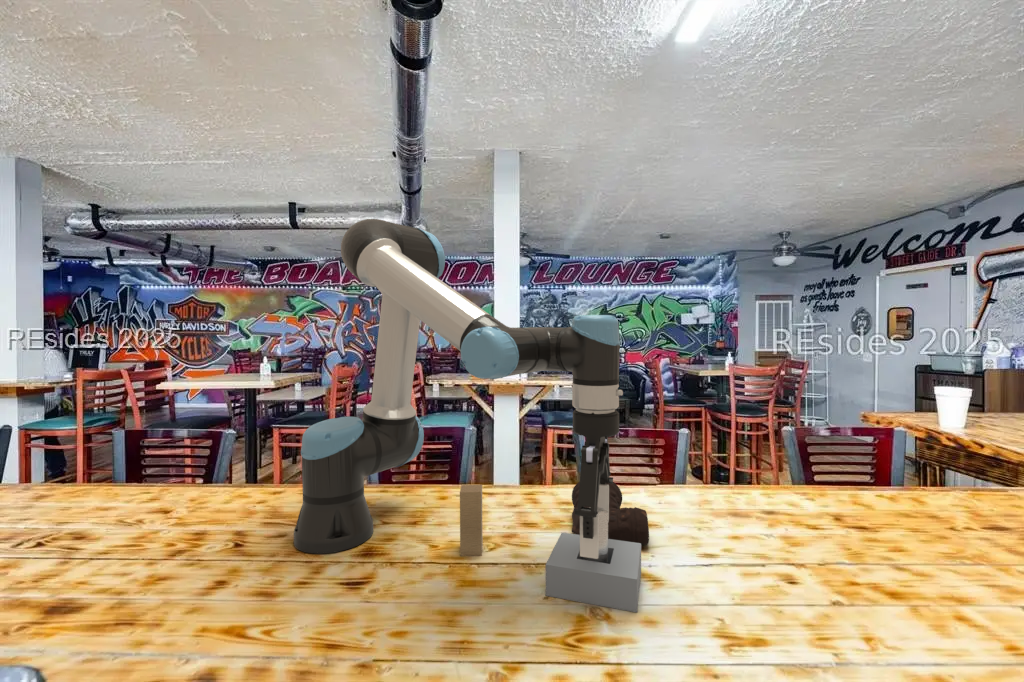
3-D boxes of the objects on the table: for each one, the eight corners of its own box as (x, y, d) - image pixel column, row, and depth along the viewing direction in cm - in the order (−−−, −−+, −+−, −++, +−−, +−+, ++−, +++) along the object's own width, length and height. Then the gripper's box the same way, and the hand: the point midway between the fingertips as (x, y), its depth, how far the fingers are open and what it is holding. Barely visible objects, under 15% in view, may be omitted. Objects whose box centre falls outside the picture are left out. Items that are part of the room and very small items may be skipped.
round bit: (581, 587, 75) (581, 514, 75) (585, 575, 79) (585, 505, 79) (606, 592, 74) (606, 518, 74) (609, 579, 78) (609, 508, 78)
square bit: (460, 556, 86) (459, 492, 86) (461, 546, 90) (461, 484, 90) (481, 555, 86) (481, 491, 86) (482, 545, 90) (482, 484, 90)
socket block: (545, 595, 73) (545, 564, 73) (561, 559, 85) (561, 532, 84) (637, 612, 69) (637, 579, 69) (641, 571, 80) (641, 543, 80)
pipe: (649, 515, 86) (639, 475, 101) (568, 515, 89) (570, 476, 103) (651, 561, 88) (641, 515, 103) (572, 559, 90) (573, 515, 105)
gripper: (610, 426, 63) (610, 580, 63) (625, 398, 86) (625, 511, 87) (556, 423, 65) (556, 571, 66) (585, 397, 89) (585, 506, 89)
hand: (595, 537), depth 76 cm, fingers open, 13 cm apart
